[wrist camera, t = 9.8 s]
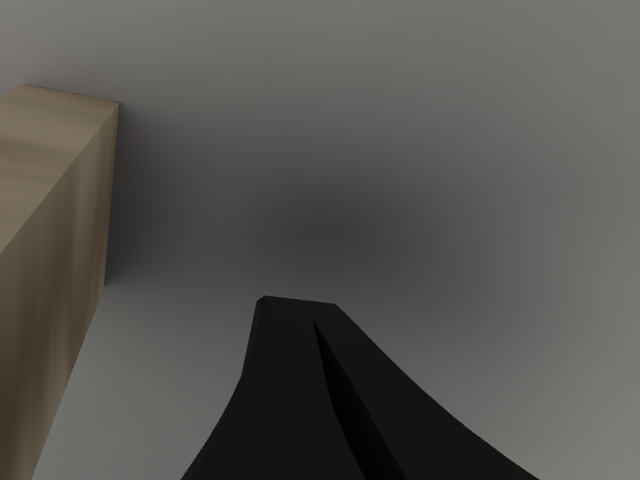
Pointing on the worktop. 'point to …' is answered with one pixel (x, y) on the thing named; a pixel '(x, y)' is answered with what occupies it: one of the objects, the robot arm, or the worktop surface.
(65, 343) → the domino
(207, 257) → the worktop surface
